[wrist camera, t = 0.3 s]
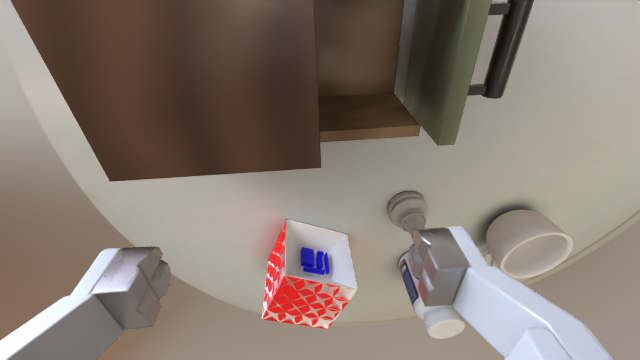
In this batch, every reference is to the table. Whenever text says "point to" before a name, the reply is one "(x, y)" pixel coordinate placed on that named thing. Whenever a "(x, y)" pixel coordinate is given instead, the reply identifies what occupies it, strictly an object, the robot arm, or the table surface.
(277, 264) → the red patterned box
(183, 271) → the table surface
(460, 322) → the pill bottle
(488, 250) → the teacup
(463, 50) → the drawer
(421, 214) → the chess piece
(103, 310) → the robot arm
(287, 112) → the cabinet
